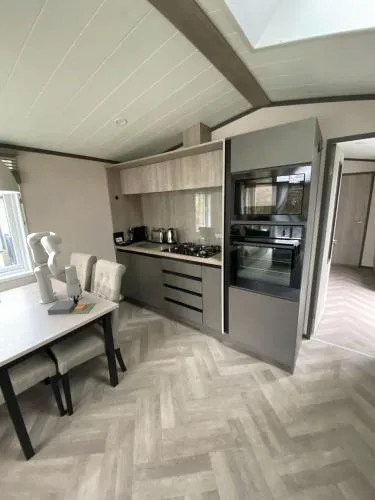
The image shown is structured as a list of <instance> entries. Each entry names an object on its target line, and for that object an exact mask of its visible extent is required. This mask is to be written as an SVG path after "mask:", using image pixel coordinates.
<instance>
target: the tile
mask: <svg viewBox="0 0 375 500" xmlns="http://www.w3.org/2000/svg"><path fill="white" fill-rule="evenodd" d="M87 303H88V302H87ZM87 303H86V302H85V303H78V304H79V305H78V306H77V307H76V308H75V311H83V310H84V309H85V307H86V306H87Z"/></svg>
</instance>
